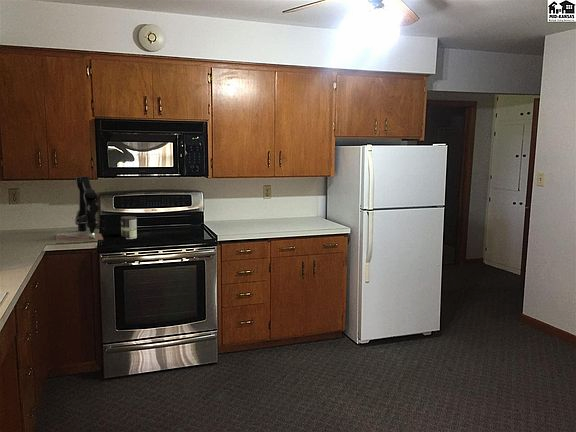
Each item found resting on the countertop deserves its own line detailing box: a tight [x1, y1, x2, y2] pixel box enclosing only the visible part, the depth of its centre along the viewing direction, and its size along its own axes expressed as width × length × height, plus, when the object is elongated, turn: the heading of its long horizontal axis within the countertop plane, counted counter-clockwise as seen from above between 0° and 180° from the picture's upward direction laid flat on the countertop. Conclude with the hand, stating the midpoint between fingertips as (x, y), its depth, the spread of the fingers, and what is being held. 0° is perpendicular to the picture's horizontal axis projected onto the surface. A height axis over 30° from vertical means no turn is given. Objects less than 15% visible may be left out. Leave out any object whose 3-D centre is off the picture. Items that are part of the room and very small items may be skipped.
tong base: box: [56, 232, 90, 237], centre depth 330 cm, size 5×20×2 cm, turn 115°
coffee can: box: [120, 215, 138, 240], centre depth 335 cm, size 10×10×14 cm
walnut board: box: [55, 233, 104, 245], centre depth 325 cm, size 20×28×2 cm
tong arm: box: [64, 232, 96, 239], centre depth 324 cm, size 22×3×4 cm, turn 80°
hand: (91, 234), depth 325 cm, fingers closed
